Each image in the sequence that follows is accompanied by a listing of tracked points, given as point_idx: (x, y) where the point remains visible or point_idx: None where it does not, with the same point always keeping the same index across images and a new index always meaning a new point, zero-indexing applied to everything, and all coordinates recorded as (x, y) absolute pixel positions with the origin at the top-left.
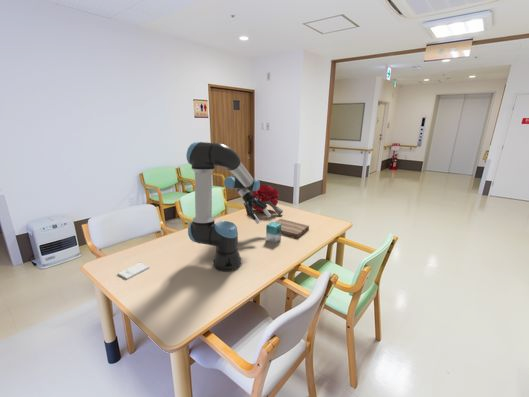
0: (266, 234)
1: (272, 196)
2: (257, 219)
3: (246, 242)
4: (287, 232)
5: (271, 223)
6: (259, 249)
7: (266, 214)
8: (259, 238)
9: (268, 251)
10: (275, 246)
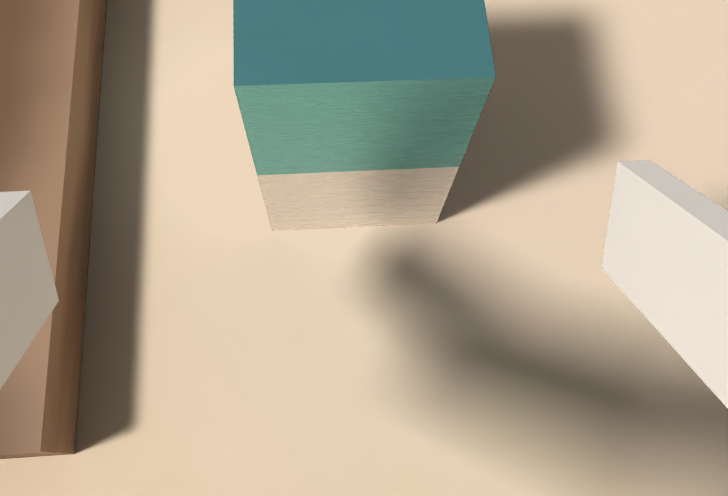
0: (453, 177)
1: None
2: (702, 202)
3: (703, 420)
4: (81, 46)
5: (346, 39)
6: (704, 140)
7: (9, 351)
8: (451, 346)
9: (656, 32)
10: (494, 36)
